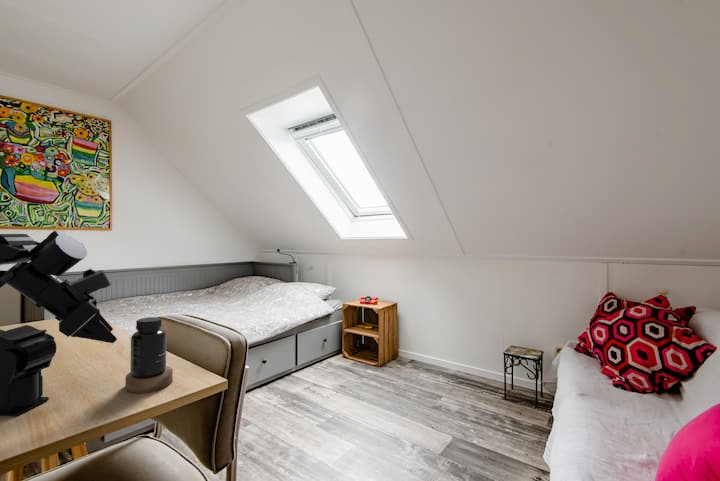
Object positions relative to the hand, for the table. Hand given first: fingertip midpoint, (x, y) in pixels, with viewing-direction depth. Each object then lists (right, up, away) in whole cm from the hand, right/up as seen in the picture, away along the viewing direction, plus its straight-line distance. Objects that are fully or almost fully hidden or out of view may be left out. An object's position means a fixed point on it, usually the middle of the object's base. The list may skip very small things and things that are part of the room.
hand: (113, 335), depth 76 cm
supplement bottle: (+6, -9, +3) cm, 11 cm away
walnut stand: (+6, -12, +3) cm, 13 cm away
